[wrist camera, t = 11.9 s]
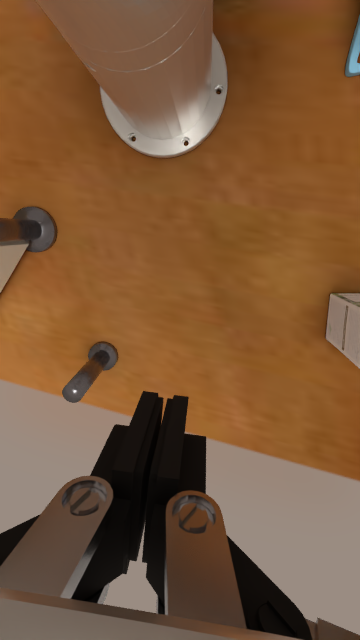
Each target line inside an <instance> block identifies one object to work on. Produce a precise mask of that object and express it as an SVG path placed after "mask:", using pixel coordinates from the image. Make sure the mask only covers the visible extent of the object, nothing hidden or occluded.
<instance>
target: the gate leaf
mask: <svg viewBox="0 0 360 640" xmlns="http://www.w3.org/2000/svg"><path fill="white" fill-rule="evenodd" d="M28 245H29V244H28V243H27V242H26V241H24V240H22V241H6V242H0V293H1V291H2V289H3V287H4V286H5V284H6V282H7V281H8V279H9V277H10V276H11V274H12V272H13V270H14V269H15V267H16V265H17V264H18V262H19V260H20V258H21V257H22V255H23V253H24V252H25V250H26V248H27V246H28Z"/></svg>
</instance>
